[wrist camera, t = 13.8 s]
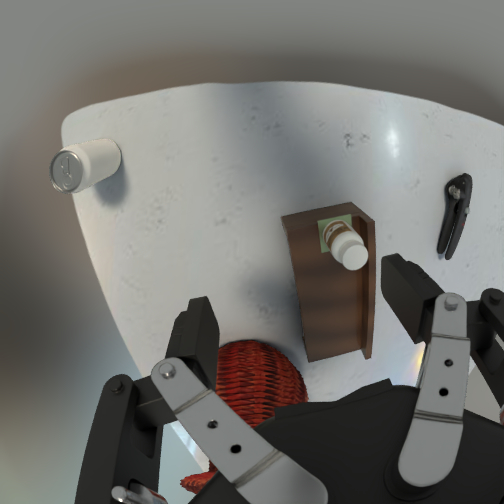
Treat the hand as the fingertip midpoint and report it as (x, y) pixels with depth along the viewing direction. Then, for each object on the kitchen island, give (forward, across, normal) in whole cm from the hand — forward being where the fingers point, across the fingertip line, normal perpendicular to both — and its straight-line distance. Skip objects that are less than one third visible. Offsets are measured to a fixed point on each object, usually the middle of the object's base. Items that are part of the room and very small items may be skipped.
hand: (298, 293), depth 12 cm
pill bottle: (+26, -9, +10) cm, 29 cm away
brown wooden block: (+32, -8, +22) cm, 40 cm away
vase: (+32, +11, +39) cm, 52 cm away
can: (+32, +23, -9) cm, 41 cm away
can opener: (+32, -36, +14) cm, 50 cm away
